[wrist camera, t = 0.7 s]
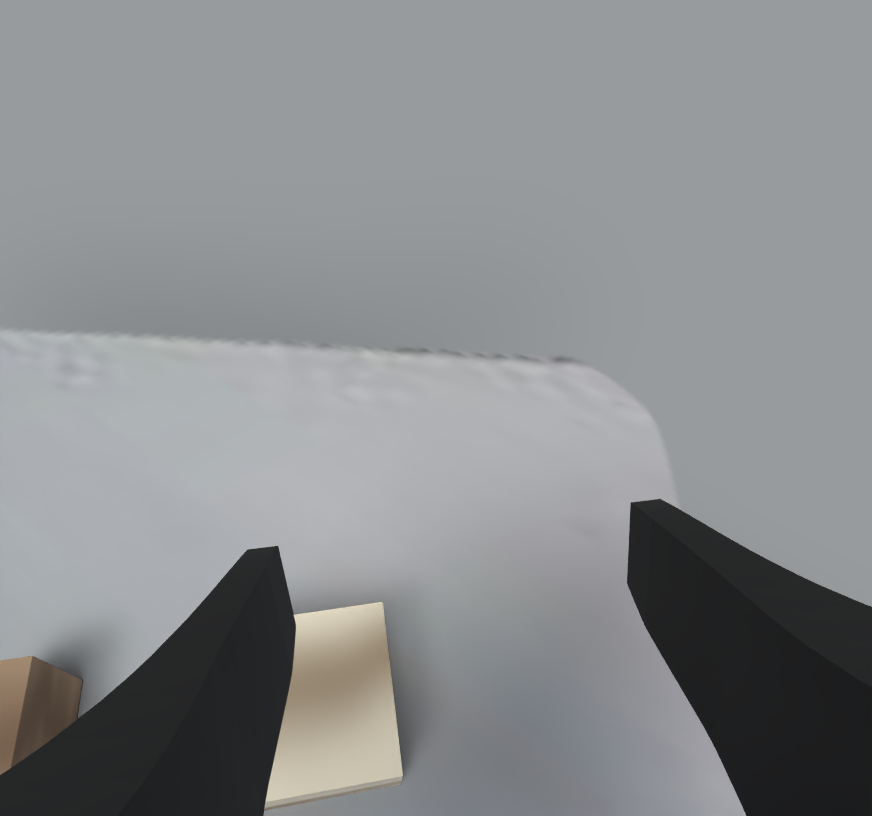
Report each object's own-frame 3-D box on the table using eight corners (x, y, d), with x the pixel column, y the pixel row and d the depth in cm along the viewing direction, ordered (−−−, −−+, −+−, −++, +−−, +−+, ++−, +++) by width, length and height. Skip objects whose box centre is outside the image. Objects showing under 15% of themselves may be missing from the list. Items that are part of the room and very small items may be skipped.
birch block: (400, 784, 25) (402, 775, 21) (250, 813, 24) (221, 810, 20) (383, 634, 28) (382, 601, 24) (250, 655, 27) (225, 624, 23)
